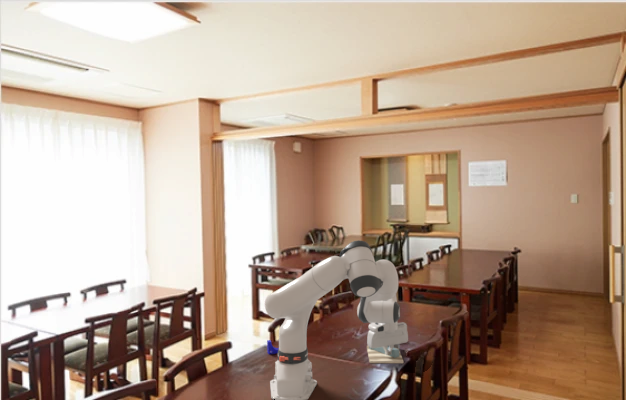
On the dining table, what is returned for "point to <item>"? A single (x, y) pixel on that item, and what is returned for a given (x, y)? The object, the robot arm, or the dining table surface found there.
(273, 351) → the cable clip
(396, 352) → the link
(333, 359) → the dining table surface
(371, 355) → the board
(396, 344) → the keeper
